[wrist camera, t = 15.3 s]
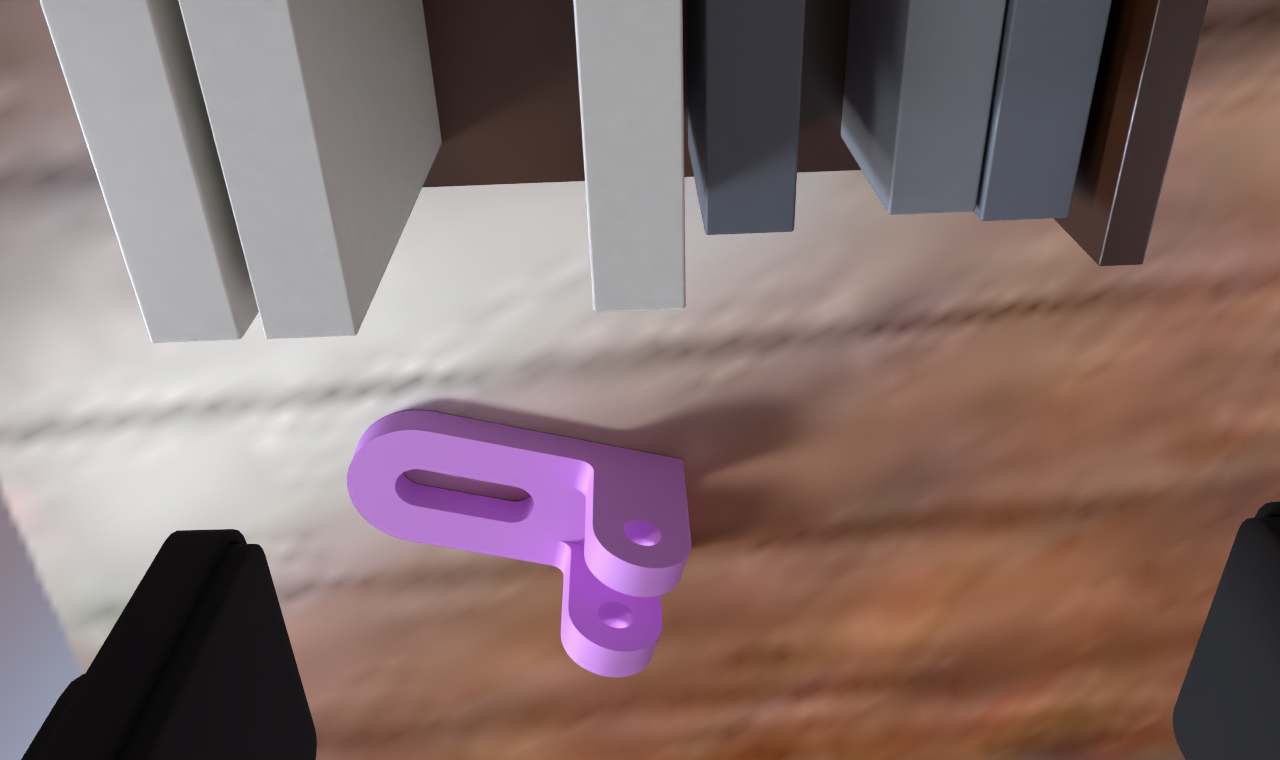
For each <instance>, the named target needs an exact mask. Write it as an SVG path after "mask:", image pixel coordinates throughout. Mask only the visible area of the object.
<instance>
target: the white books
mask: <svg viewBox="0 0 1280 760" xmlns="http://www.w3.org/2000/svg"><path fill="white" fill-rule="evenodd" d="M40 3H41V6H42V9H43V12H44V15H45V19H46V22H47V25H48V28H49V31H50V34H51V37H52V40H53V43H54V46H55V49H56V52H57V55H58V58H59V61H60V64H61V67H62V71H63V74H64V77H65V80H66V83H67V86H68V89H69V92H70V95H71V98H72V101H73V104H74V107H75V110H76V113H77V116H78V119H79V123H80V126H81V129H82V132H83V135H84V138H85V141H86V144H87V147H88V150H89V153H90V156H91V159H92V162H93V165H94V168H95V171H96V175H97V178H98V181H99V184H100V187H101V190H102V193H103V196H104V199H105V202H106V205H107V208H108V211H109V214H110V217H111V220H112V223H113V227H114V230H115V233H116V236H117V239H118V242H119V245H120V248H121V251H122V254H123V257H124V260H125V263H126V266H127V269H128V272H129V275H130V279H131V282H132V285H133V288H134V291H135V294H136V297H137V300H138V303H139V306H140V309H141V312H142V315H143V318H144V321H145V324H146V327H147V330H148V334H149V337H150V340H151V341H152V342H153V343H164V342H188V341H213V340H238V339H241V338H242V337H243V336H244V334H245V332H246V331H247V329H248V328H249V326H250V325H251V323H252V322H253V320H254V318H255V317H256V315H257V314H258V312H259V314H260V318H261V322H262V326H263V330H264V334H265V337H266V339H280V338H305V337H330V336H355V335H357V333H358V331H359V328H360V326H361V324H362V322H363V319H364V317H365V315H366V313H367V310H368V308H369V306H370V304H371V301H372V299H373V297H374V295H375V292H376V290H377V288H378V286H379V283H380V281H381V279H382V277H383V274H384V272H385V270H386V268H387V265H388V263H389V261H390V259H391V256H392V254H393V252H394V250H395V247H396V245H397V243H398V241H399V238H400V236H401V234H402V232H403V229H404V227H405V225H406V223H407V220H408V218H409V216H410V214H411V211H412V209H413V207H414V204H415V202H416V200H417V198H418V195H419V193H420V191H421V189H422V186H423V184H424V182H425V180H426V177H427V175H428V173H429V171H430V168H431V166H432V164H433V162H434V159H435V157H436V155H437V153H438V150H439V148H440V146H441V144H442V140H441V133H440V125H439V118H438V111H437V104H436V97H435V89H434V82H433V75H432V68H431V60H430V53H429V46H428V39H427V32H426V24H425V17H424V10H423V3H422V0H40Z"/></svg>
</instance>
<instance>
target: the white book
mask: <svg viewBox="0 0 1280 760" xmlns="http://www.w3.org/2000/svg"><path fill="white" fill-rule="evenodd" d="M573 2H574V17H575V33H576V48H577V64H578V80H579V95H580V111H581V126H582V142H583V157H584V173H585V188H586V204H587V219H588V235H589V250H590V266H591V282H592V297H593V310H594V311H595V312H610V311H635V310H660V309H683V308H685V306H686V296H685V203H684V109H683V16H682V0H573Z"/></svg>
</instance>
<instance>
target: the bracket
mask: <svg viewBox="0 0 1280 760" xmlns="http://www.w3.org/2000/svg"><path fill="white" fill-rule="evenodd" d="M412 469H421V470H426V471H432V472H437V473H443V474H448V475H454V476H459V477H464V478H470V479H475V480H481V481H486V482H492V483H497V484H503V485H508V486H514V487H518V488H521V489H523V490H525V491H526V492H528V493H529V494H530V497H529V498H527V499H525V500H522V501H507V500H502V499H496V498H491V497H485V496H480V495H474V494H469V493H463V492H457V491H452V490H446V489H441V488H435V487H430V486H424V485H419V484H416V483H414V482H412V481H410V480H409V479H408V478H406V476H405V475H404V474H403V472H405V471H408V470H412ZM347 486H348V492H349V495H350V498H351V500H352V502H353V504H354V506H355V508H356V509H357V510H358V512H359V513H360V514H361V515H362V516H363V518H364V519H365V520H367V521H368V522H369V523H370V524H371V525H373V526H374V527H375V528H377V529H379V530H380V531H382V532H384V533H386V534H388V535H391V536H393V537H396V538H400V539H403V540H408V541H413V542H419V543H425V544H431V545H437V546H442V547H448V548H454V549H460V550H466V551H471V552H477V553H483V554H489V555H495V556H500V557H506V558H512V559H518V560H524V561H529V562H535V563H541V564H547V565H552V566H556V567H558V568H559V569H560V570H561V571H562V572H563V574H564V585H563V602H562V620H561V640H562V644H563V646H564V648H565V650H566V652H567V653H568V655H569V656H570V657H571V658H572V659H573V660H574V661H575V662H576V663H577V664H579V665H580V666H581V667H583V668H584V669H586V670H588V671H590V672H593V673H595V674H598V675H602V676H607V677H626V676H630V675H633V674H636V673H638V672H640V671H641V670H643V669H644V668H645V667H646V666H647V665H648V663H649V662H650V660H651V658H652V655H653V652H654V650H655V647H656V644H657V641H658V639H659V636H660V633H661V630H662V610H661V595H663V594H665V593H667V592H669V591H671V590H672V589H673V588H674V587H675V586H676V585H677V584H678V582H679V580H680V578H681V575H682V572H683V569H684V567H685V564H686V561H687V558H688V556H689V553H690V550H691V533H690V523H689V513H688V504H687V494H686V484H685V475H684V465H683V459H678V458H673V457H667V456H662V455H657V454H652V453H647V452H641V451H636V450H631V449H626V448H621V447H615V446H610V445H605V444H600V443H594V442H589V441H584V440H579V439H574V438H568V437H563V436H558V435H553V434H548V433H542V432H537V431H532V430H527V429H522V428H516V427H511V426H506V425H501V424H496V423H490V422H485V421H480V420H475V419H470V418H464V417H459V416H454V415H449V414H444V413H438V412H433V411H426V410H409V411H402V412H398V413H394V414H391V415H388V416H386V417H384V418H382V419H380V420H378V421H377V422H375V423H374V424H373V425H371V426H370V427H369V428H368V429H367V430H366V432H365V433H364V434H363V435H362V437H361V439H360V440H359V443H358V445H357V448H356V450H355V453H354V456H353V458H352V461H351V464H350V467H349V470H348V476H347Z"/></svg>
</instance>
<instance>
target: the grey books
mask: <svg viewBox="0 0 1280 760" xmlns="http://www.w3.org/2000/svg"><path fill="white" fill-rule="evenodd" d="M805 1H806V0H687V40H688V148H689V153H690V158H691V163H692V168H693V173H694V178H695V183H696V188H697V193H698V198H699V204H700V209H701V214H702V219H703V224H704V229H705V233H706V234H707V235H716V234H741V233H767V232H791V231H793V230H794V219H795V199H796V179H797V160H798V140H799V120H800V100H801V80H802V60H803V40H804V20H805ZM1111 3H1112V0H850V13H849V27H848V40H847V54H846V68H845V82H844V96H843V109H842V123H841V137H842V139H843V140H844V142H845V144H846V145H847V147H848V149H849V150H850V152H851V153H852V155H853V157H854V158H855V160H856V162H857V163H858V165H859V167H860V168H861V170H862V172H863V173H864V175H865V176H866V178H867V180H868V181H869V183H870V185H871V186H872V188H873V190H874V191H875V193H876V195H877V196H878V198H879V199H880V201H881V203H882V204H883V206H884V208H885V209H886V211H887V213H888V214H890V215H895V214H920V213H945V212H970V211H974V212H975V213H976V215H977V216H978V217H979V218H980V220H982V221H995V220H1020V219H1045V218H1067V217H1068V216H1069V211H1070V206H1071V201H1072V196H1073V191H1074V186H1075V182H1076V177H1077V172H1078V167H1079V162H1080V157H1081V152H1082V147H1083V142H1084V137H1085V132H1086V127H1087V122H1088V117H1089V112H1090V107H1091V102H1092V97H1093V92H1094V87H1095V82H1096V77H1097V72H1098V67H1099V62H1100V57H1101V52H1102V47H1103V42H1104V37H1105V32H1106V27H1107V22H1108V18H1109V13H1110V8H1111Z"/></svg>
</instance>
